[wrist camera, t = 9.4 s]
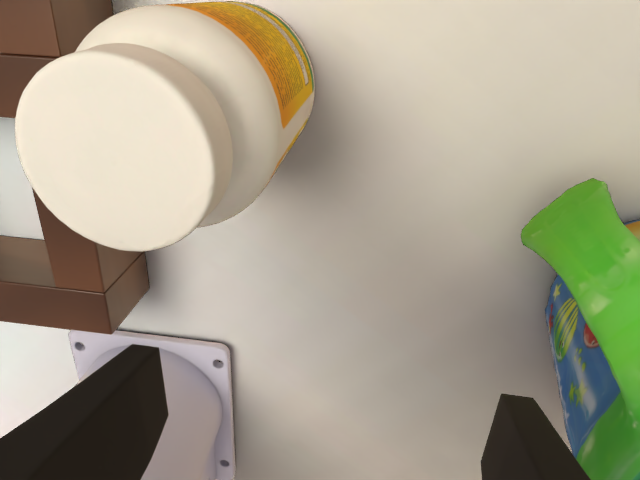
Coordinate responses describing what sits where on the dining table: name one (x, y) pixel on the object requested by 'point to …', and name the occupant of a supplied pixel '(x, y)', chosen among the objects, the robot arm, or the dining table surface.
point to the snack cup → (594, 325)
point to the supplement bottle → (164, 120)
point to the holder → (60, 241)
